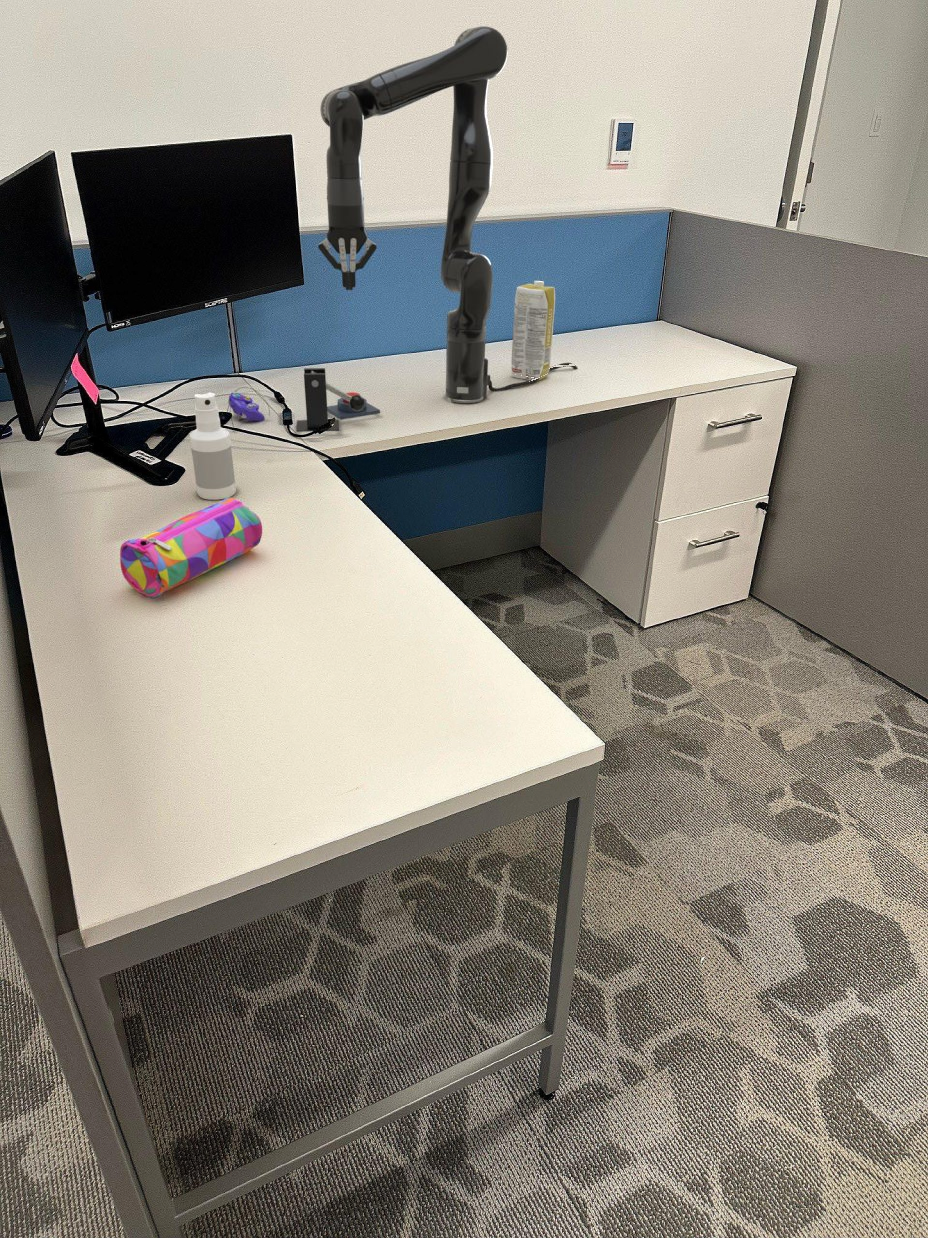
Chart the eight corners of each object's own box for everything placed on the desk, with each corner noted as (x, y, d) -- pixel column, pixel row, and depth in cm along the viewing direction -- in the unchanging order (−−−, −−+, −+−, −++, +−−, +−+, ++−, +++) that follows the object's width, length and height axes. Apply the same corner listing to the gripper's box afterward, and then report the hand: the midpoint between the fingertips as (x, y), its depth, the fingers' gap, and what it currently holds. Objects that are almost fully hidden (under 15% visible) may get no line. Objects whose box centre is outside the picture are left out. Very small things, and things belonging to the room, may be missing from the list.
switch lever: (359, 410, 189) (367, 397, 188) (360, 415, 186) (368, 402, 185) (305, 381, 184) (312, 367, 183) (305, 385, 182) (312, 371, 180)
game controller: (280, 406, 190) (241, 406, 183) (270, 438, 194) (232, 439, 187) (256, 383, 194) (217, 382, 187) (247, 415, 199) (209, 415, 191)
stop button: (355, 398, 198) (355, 391, 198) (362, 403, 196) (362, 395, 195) (341, 401, 197) (341, 393, 196) (348, 405, 194) (348, 397, 193)
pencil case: (161, 610, 121) (151, 552, 116) (116, 591, 125) (105, 535, 120) (270, 553, 137) (265, 500, 132) (226, 538, 141) (220, 486, 136)
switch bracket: (338, 424, 192) (335, 366, 186) (339, 435, 186) (336, 375, 180) (297, 425, 191) (293, 366, 184) (296, 435, 185) (292, 375, 178)
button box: (364, 407, 203) (363, 392, 201) (380, 417, 197) (380, 402, 196) (325, 413, 198) (324, 398, 197) (340, 423, 193) (339, 408, 191)
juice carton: (552, 376, 231) (560, 281, 218) (538, 383, 225) (545, 285, 213) (521, 370, 235) (527, 277, 223) (507, 377, 229) (512, 281, 217)
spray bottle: (202, 502, 153) (188, 402, 144) (193, 489, 158) (179, 391, 149) (240, 496, 156) (229, 397, 147) (230, 483, 161) (219, 387, 152)
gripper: (313, 203, 176) (318, 292, 185) (378, 204, 178) (380, 292, 187) (313, 199, 183) (318, 286, 192) (376, 200, 184) (378, 286, 193)
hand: (349, 289), depth 189 cm, fingers closed
